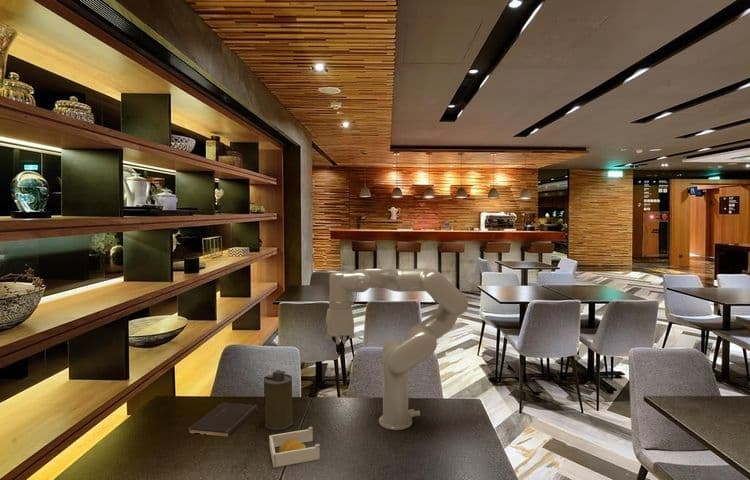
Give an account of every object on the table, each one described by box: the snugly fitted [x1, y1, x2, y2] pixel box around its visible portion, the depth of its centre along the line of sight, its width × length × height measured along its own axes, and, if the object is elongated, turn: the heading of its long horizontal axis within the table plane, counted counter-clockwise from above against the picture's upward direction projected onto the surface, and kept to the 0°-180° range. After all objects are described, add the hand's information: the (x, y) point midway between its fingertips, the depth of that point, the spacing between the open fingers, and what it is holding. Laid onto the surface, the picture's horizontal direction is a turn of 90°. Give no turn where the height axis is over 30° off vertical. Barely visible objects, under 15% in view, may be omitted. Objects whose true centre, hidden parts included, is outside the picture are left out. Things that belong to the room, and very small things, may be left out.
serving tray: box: [268, 426, 321, 468], centre depth 145 cm, size 15×14×5 cm
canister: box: [263, 369, 294, 431], centre depth 165 cm, size 11×10×20 cm
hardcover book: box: [188, 402, 259, 438], centre depth 168 cm, size 16×23×2 cm
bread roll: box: [278, 439, 307, 453], centre depth 145 cm, size 8×9×4 cm
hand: (340, 353), depth 163 cm, fingers closed
